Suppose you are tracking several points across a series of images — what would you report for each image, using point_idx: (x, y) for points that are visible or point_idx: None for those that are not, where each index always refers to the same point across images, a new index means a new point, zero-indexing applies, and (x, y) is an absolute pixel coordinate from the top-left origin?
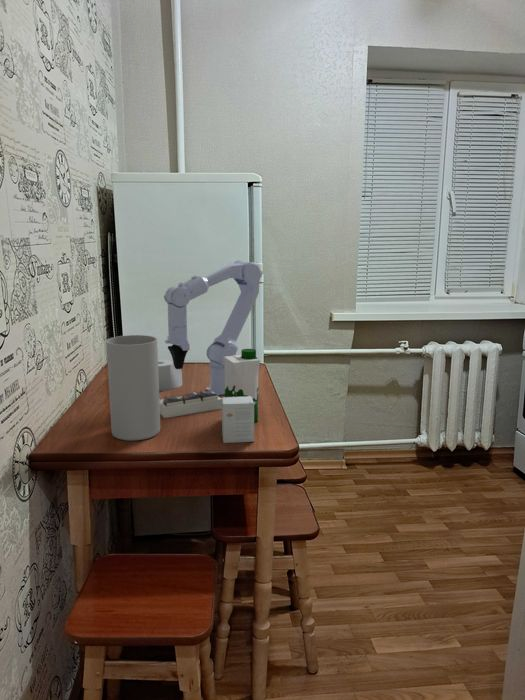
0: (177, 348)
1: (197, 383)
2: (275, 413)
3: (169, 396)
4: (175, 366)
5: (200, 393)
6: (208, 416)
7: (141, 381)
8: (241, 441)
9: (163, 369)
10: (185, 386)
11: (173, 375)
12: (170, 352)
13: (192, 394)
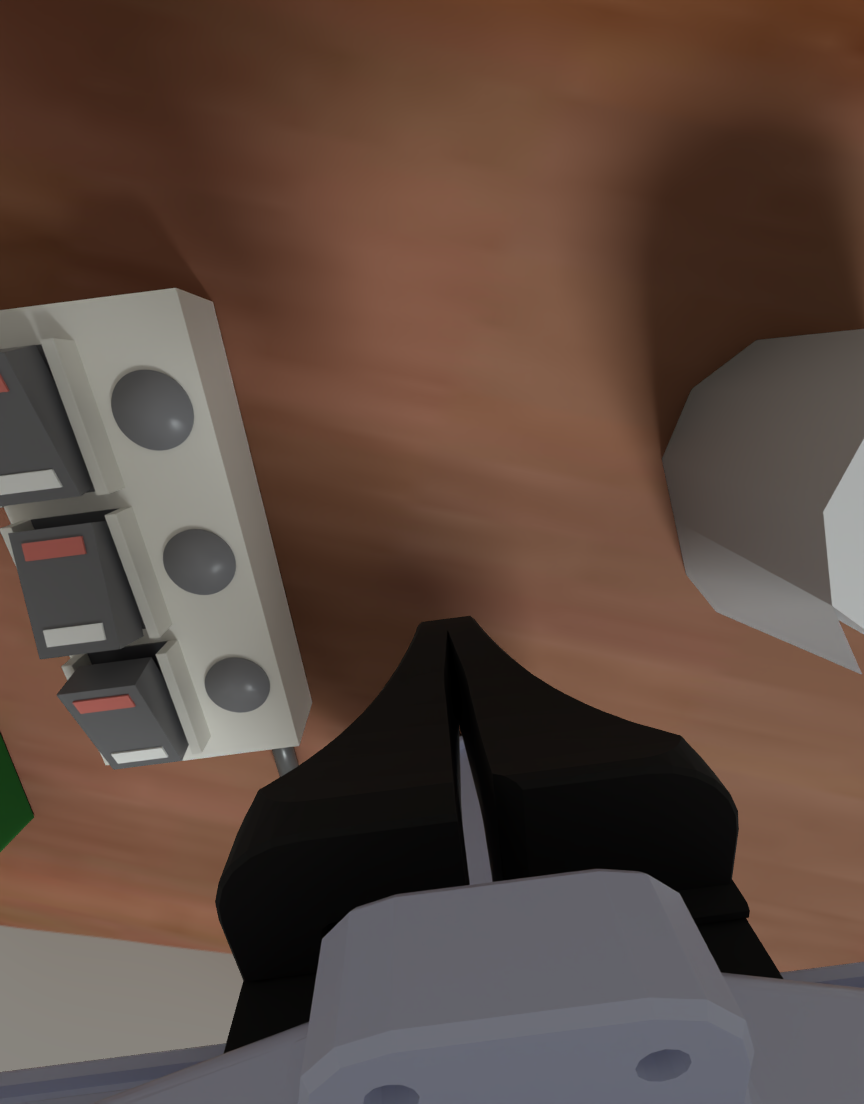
0: (236, 960)
1: (708, 705)
2: (32, 914)
3: (17, 404)
4: (426, 630)
5: (124, 673)
6: (14, 622)
7: None
8: None
9: (791, 509)
10: (685, 625)
11: (745, 583)
12: (574, 710)
13: (67, 611)
